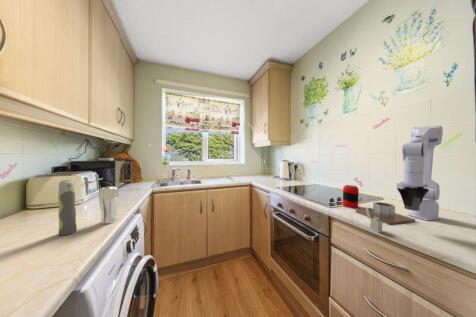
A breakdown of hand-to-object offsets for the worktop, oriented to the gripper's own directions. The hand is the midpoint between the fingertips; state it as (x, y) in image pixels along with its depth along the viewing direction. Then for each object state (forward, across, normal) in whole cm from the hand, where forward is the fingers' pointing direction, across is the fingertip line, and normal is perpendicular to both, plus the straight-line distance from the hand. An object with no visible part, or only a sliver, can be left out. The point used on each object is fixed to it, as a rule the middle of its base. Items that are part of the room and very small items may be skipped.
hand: (411, 205), depth 71 cm
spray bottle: (+10, +133, -27) cm, 136 cm away
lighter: (+10, +15, -4) cm, 19 cm away
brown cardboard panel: (+10, -4, -14) cm, 17 cm away
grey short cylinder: (+1, 0, 0) cm, 1 cm away
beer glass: (+10, +123, -36) cm, 129 cm away
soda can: (+10, -2, -31) cm, 32 cm away
